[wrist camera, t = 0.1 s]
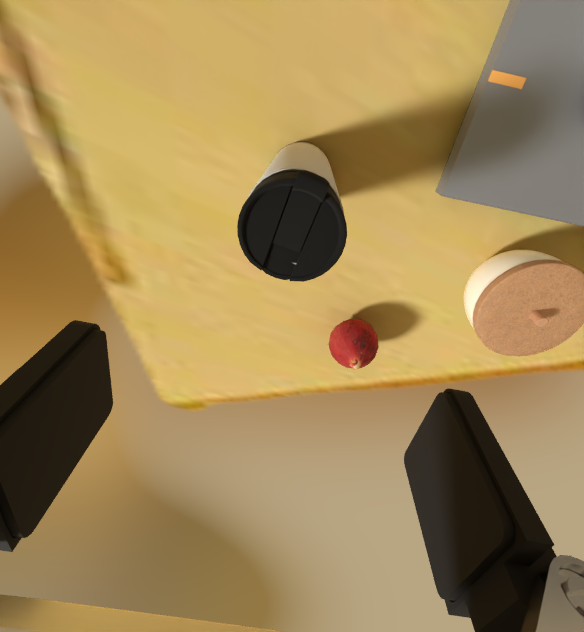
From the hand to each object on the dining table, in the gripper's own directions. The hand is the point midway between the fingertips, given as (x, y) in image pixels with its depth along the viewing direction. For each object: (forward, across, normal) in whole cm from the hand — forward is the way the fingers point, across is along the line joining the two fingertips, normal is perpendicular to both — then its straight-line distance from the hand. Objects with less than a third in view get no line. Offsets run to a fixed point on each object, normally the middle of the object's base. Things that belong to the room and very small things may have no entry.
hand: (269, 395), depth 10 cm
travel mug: (+31, 0, -1) cm, 31 cm away
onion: (+31, -10, +16) cm, 37 cm away
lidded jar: (+31, -25, +6) cm, 41 cm away
